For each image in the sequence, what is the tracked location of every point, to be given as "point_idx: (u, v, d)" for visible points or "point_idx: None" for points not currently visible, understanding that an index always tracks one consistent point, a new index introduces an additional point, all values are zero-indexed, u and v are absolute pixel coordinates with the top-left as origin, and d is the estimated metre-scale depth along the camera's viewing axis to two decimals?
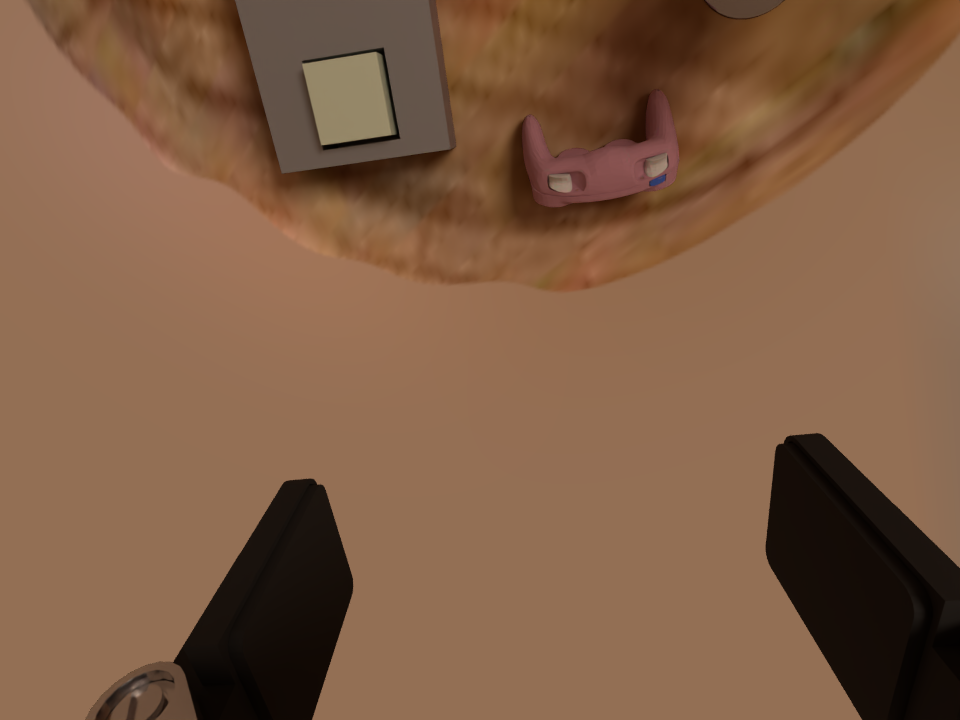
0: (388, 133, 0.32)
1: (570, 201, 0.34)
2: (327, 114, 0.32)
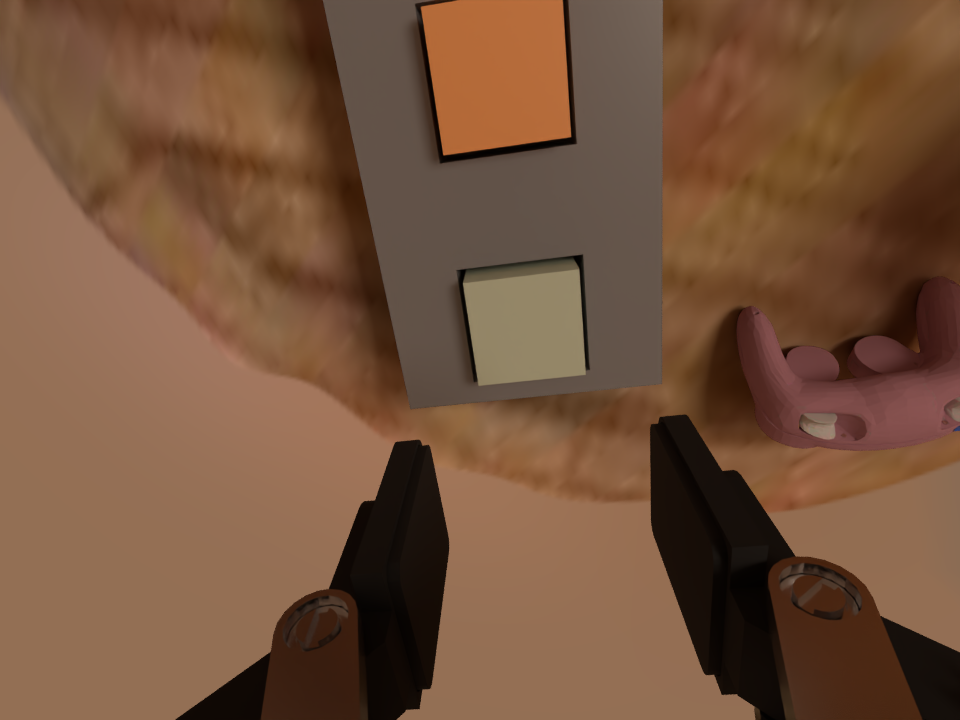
0: (581, 373, 0.22)
1: (829, 447, 0.23)
2: (493, 347, 0.21)
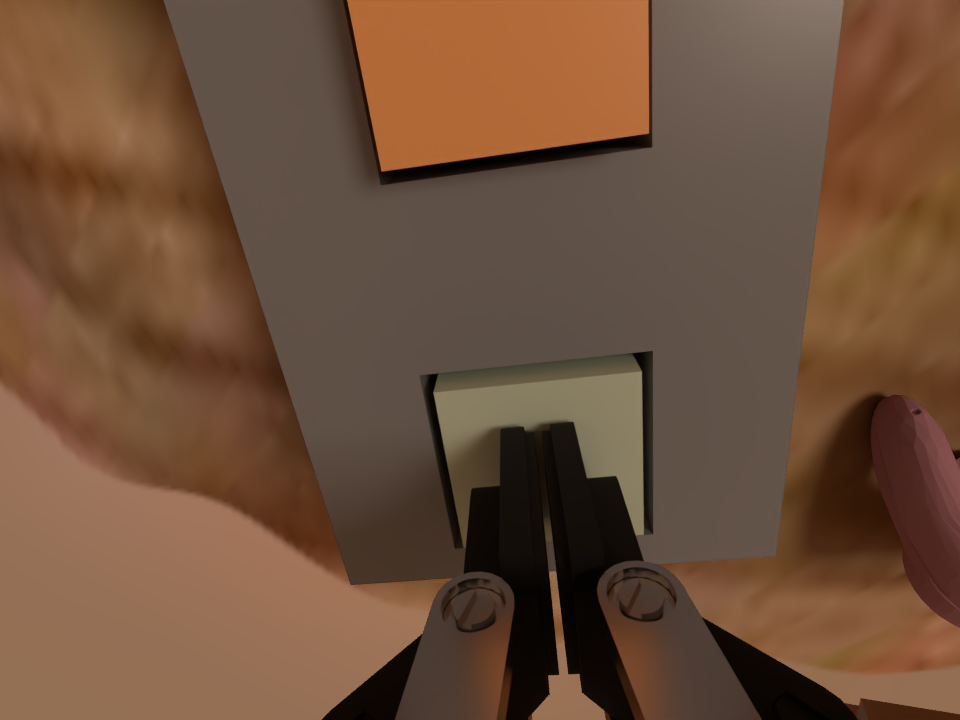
0: (636, 532, 0.13)
1: None
2: None
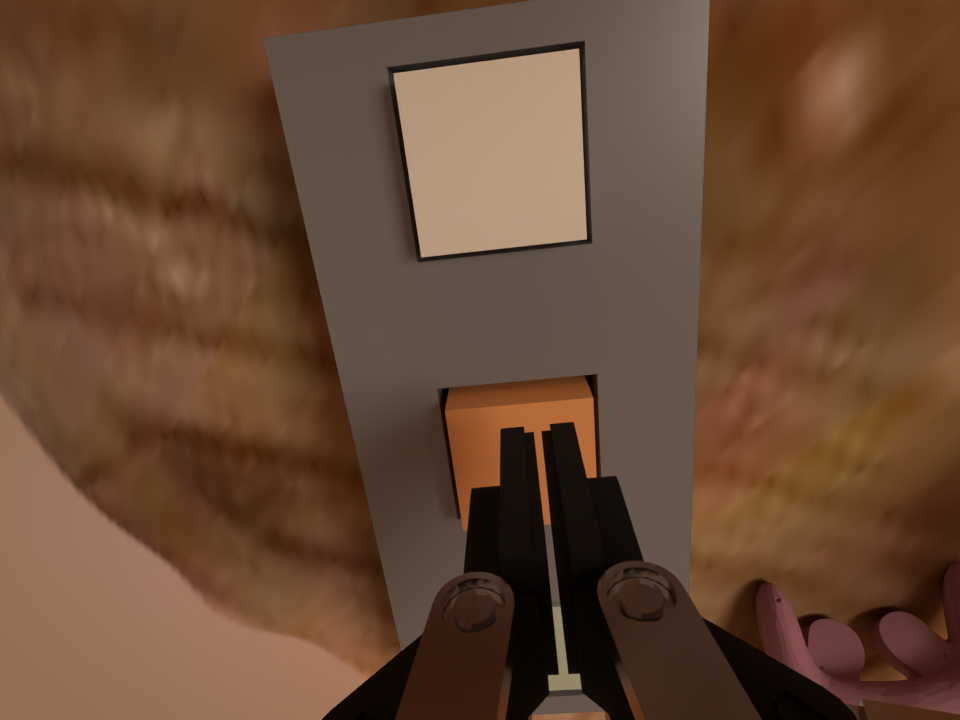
0: None
1: None
2: None
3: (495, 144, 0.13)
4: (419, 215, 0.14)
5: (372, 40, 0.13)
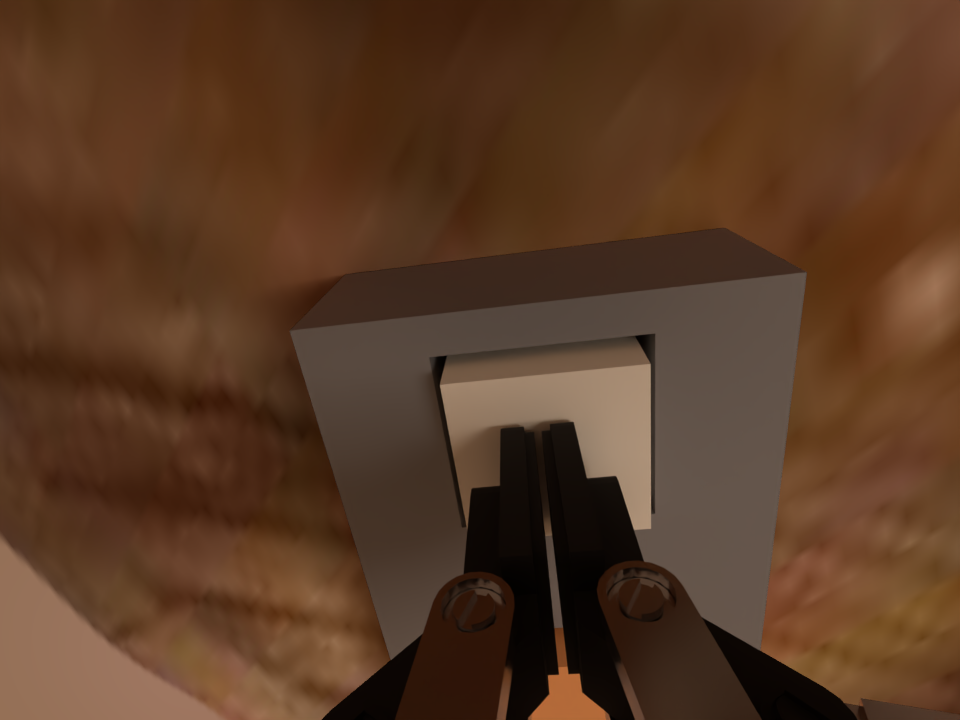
0: None
1: None
2: None
3: None
4: (467, 506, 0.13)
5: (412, 332, 0.12)
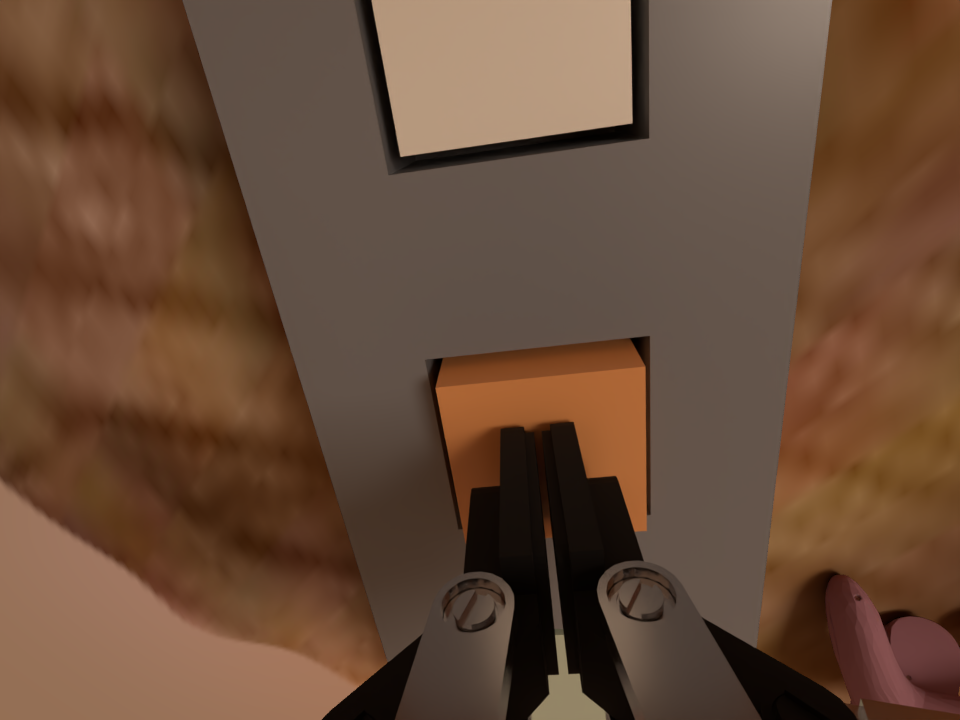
0: None
1: None
2: None
3: None
4: (394, 93, 0.10)
5: None
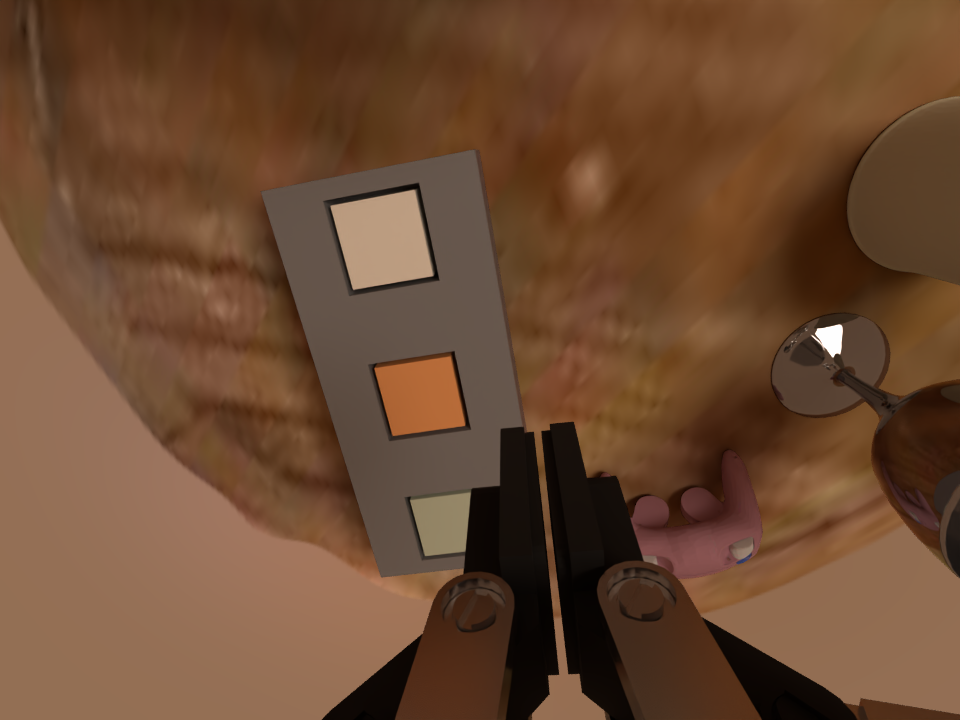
0: None
1: None
2: (432, 534, 0.34)
3: (382, 234, 0.27)
4: (349, 269, 0.28)
5: (314, 188, 0.27)
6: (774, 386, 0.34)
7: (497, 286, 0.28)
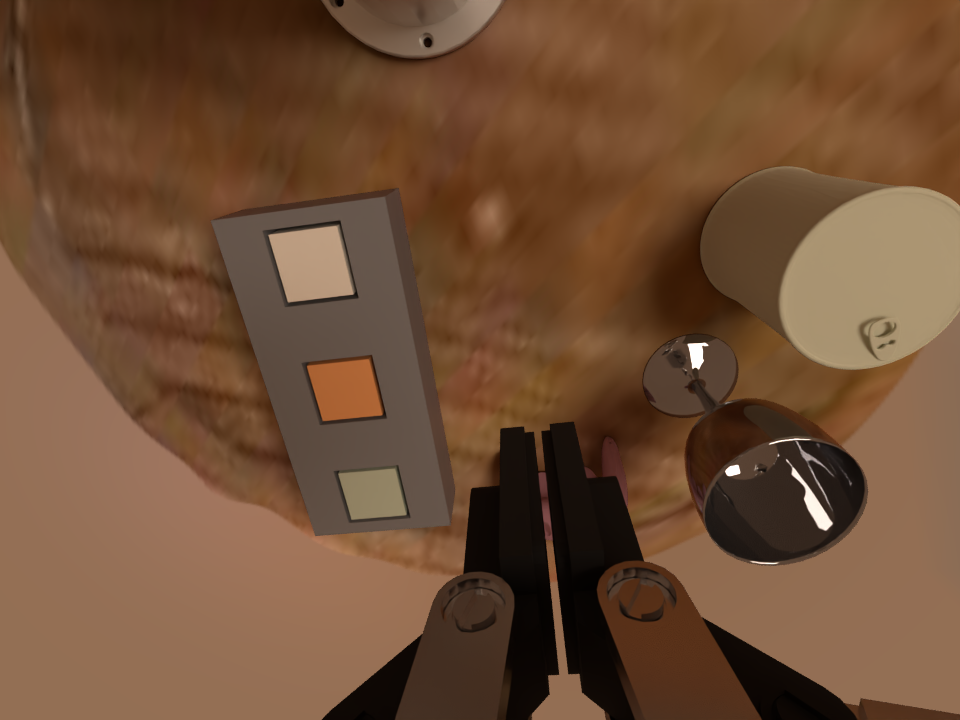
0: (403, 514, 0.41)
1: None
2: (357, 502, 0.41)
3: (311, 259, 0.34)
4: (284, 286, 0.34)
5: (254, 220, 0.33)
6: (645, 391, 0.41)
7: (405, 305, 0.35)
